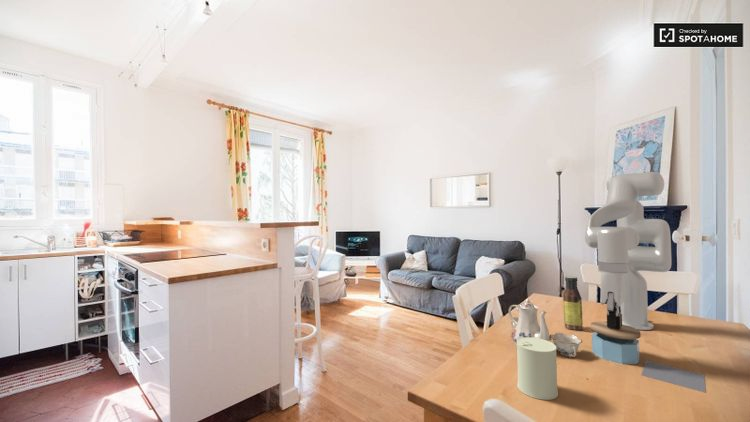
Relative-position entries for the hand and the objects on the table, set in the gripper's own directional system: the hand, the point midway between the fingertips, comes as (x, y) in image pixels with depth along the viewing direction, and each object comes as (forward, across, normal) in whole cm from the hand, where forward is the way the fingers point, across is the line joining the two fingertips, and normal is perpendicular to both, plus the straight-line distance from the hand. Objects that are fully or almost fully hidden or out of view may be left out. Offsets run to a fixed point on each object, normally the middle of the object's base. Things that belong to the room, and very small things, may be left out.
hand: (614, 326), depth 96 cm
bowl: (+9, 0, 0) cm, 9 cm away
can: (+10, +36, -11) cm, 39 cm away
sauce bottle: (+10, -20, -16) cm, 27 cm away
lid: (+2, 0, 0) cm, 2 cm away
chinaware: (+10, +7, -21) cm, 24 cm away
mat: (+9, +4, +13) cm, 17 cm away
